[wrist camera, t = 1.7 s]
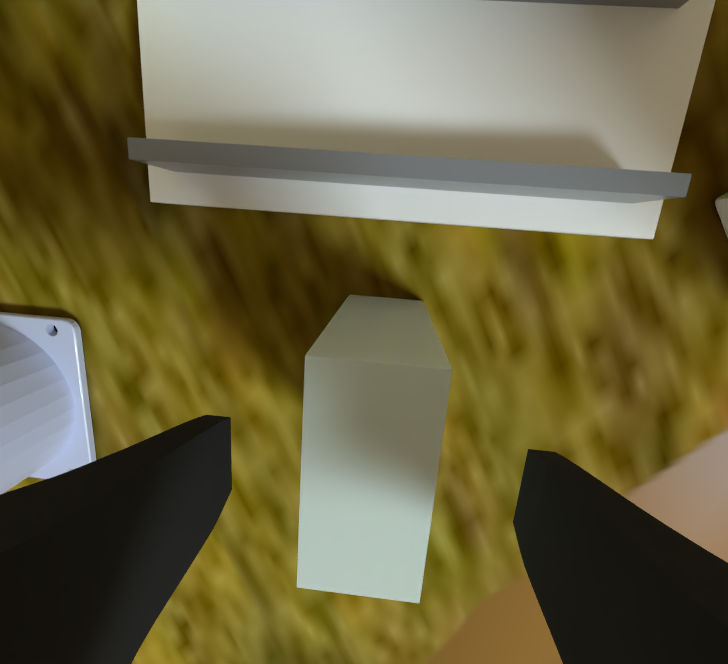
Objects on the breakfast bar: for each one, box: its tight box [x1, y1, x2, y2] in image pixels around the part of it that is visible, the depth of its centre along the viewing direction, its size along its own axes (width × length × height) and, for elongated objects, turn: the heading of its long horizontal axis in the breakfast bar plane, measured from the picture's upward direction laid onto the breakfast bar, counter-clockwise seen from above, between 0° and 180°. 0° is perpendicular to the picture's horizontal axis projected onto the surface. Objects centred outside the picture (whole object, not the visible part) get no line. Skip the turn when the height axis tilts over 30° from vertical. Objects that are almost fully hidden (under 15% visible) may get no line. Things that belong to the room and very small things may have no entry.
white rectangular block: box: [297, 295, 452, 603], centre depth 12 cm, size 6×3×8 cm, turn 176°
